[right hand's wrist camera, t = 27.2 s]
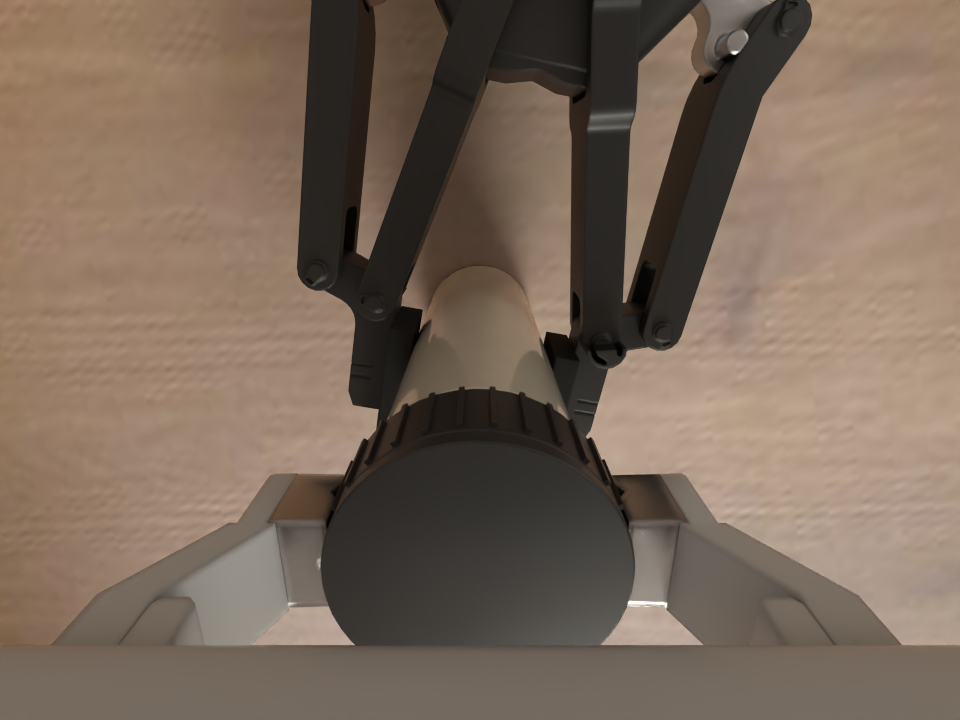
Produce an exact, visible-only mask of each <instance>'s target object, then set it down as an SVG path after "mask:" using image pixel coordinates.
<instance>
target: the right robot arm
mask: <svg viewBox="0 0 960 720" xmlns="http://www.w3.org/2000/svg"><path fill="white" fill-rule="evenodd" d="M344 476H345V475H339V474H297V473H291V474H273V475H270V476H269V477H268V479H267V480H266V482H265V483H264V485H263V486H262V488H261V489H260V490H259V492H258V493H257V495H256V496H255V498H254V499H253V501H252V502H251V504H250V505H249V506H248V508H247V509H246V511H245V512H244V514H243V515H242V517H241V518H240V519H239V521H238V522H237V523H228V524H227V525H225V526H223V527H221V528H219V529H217V530H215V531H214V532H212V533H210V534H208V535H206V536H204V537H202V538H201V539H199V540H197V541H195V542H193V543H191V544H190V545H188V546H186V547H184V548H182V549H180V550H178V551H177V552H175V553H173V554H171V555H169V556H167V557H165V558H164V559H162V560H160V561H158V562H156V563H154V564H153V565H151V566H149V567H147V568H145V569H143V570H141V571H140V572H138V573H136V574H134V575H132V576H130V577H129V578H127V579H125V580H123V581H121V582H119V583H117V584H116V585H114V586H112V587H110V588H108V589H106V590H104V591H103V592H101V593H99V594H97V595H96V596H95V597H94V598H93V599H92V600H91V602H90V603H89V604H88V605H87V606H86V607H85V608H84V609H83V610H82V612H81V613H80V614H79V615H78V616H77V617H76V618H75V619H74V620H73V621H72V623H71V624H70V625H69V626H68V627H67V628H66V629H65V630H64V631H63V633H62V634H61V635H60V636H59V637H58V638H57V639H56V640H55V641H54V643H53V644H52V645H0V720H960V645H902V644H901V643H900V642H899V641H898V640H897V639H896V638H895V636H894V635H893V634H892V633H891V632H890V631H889V630H888V629H887V627H886V626H885V625H884V624H883V623H882V622H881V621H880V620H879V618H878V617H877V616H876V615H875V614H874V613H873V612H872V610H871V609H870V608H869V607H868V606H867V605H866V604H865V603H864V601H863V600H862V599H861V598H860V597H859V596H858V595H856V594H855V593H853V592H851V591H849V590H847V589H845V588H844V587H842V586H840V585H838V584H836V583H835V582H833V581H831V580H829V579H827V578H825V577H824V576H822V575H820V574H818V573H816V572H814V571H813V570H811V569H809V568H807V567H805V566H803V565H802V564H800V563H798V562H796V561H794V560H792V559H791V558H789V557H787V556H785V555H783V554H782V553H780V552H778V551H776V550H774V549H772V548H771V547H769V546H767V545H765V544H763V543H761V542H760V541H758V540H756V539H754V538H752V537H750V536H749V535H747V534H745V533H743V532H741V531H740V530H738V529H736V528H734V527H732V526H730V525H729V524H727V523H718V522H717V521H716V519H715V518H714V516H713V515H712V513H711V512H710V510H709V509H708V508H707V506H706V505H705V503H704V502H703V500H702V499H701V497H700V496H699V494H698V493H697V492H696V490H695V489H694V487H693V486H692V484H691V483H690V481H689V480H688V478H687V477H686V476H685V475H684V474H682V473H673V474H647V475H611V476H612V478H613V480H614V483H615V485H616V488H617V490H618V492H619V495H620V497H621V499H622V502H623V504H624V506H625V509H623V510H621V512H622V514H623V517H624V519H625V522H626V524H627V527H628V530H629V533H630V536H631V539H632V543H633V549H634V555H635V576H634V582H633V588H632V593H631V596H630V599H629V602H628V605H627V606H637V607H667V610H668V611H669V612H670V613H671V614H672V615H673V616H674V617H675V618H676V619H677V620H678V621H679V622H680V623H681V624H682V625H683V626H684V627H686V628H687V629H688V630H689V631H690V632H691V633H692V634H693V635H694V636H695V637H696V638H697V639H698V640H699V641H700V642H701V643H702V644H703V645H252V644H253V643H254V642H255V641H256V640H257V639H258V638H259V637H260V636H261V635H263V634H264V633H265V632H266V631H267V630H268V629H269V628H270V627H271V626H272V625H273V624H274V623H275V622H276V621H277V620H279V619H280V618H281V617H282V616H283V615H284V614H285V613H286V612H287V611H288V610H289V608H288V607H317V606H329V605H328V603H327V601H326V597H325V593H324V590H323V586H322V579H321V568H320V563H321V550H322V546H323V541H324V537H325V533H326V531H327V528H328V526H329V524H330V521H331V519H332V517H333V514H334V511H331V510H330V508H331V505H332V503H333V501H334V499H335V496H336V494H337V492H338V489H339V487H340V485H341V483H342V480H343V478H344Z"/></svg>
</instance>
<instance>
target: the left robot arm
mask: <svg viewBox="0 0 960 720" xmlns="http://www.w3.org/2000/svg"><path fill="white" fill-rule="evenodd" d="M385 1H386V0H312V6H311V24H310V42H309V61H308V79H307V97H306V115H305V133H304V152H303V170H302V188H301V206H300V224H299V243H298V261H297V270H298V276H299V278H300V279H301V281H302V283H303V284H305V285H306V286H307V287H308V288H310V289H313V290H316V291H320V290H325V291H326V292H328V293H330V294H332V295H334V296H336V297H337V298H339V299H341V300H343V301H344V302H345V303H347V304H348V306H349V307H350V308H351V309H352V311H353V313H354V316H355V334H354V343H353V353H352V364H351V372H350V373H351V374H350V381H349V390H348V391H349V394H350V397H351V400H352V404H353V405H356V406H362V407H368V408H374V409H379V412H378V420H377V427H378V424H379V422H380V421H381V420H382V419H384V420H385V421H387V419H388V416H389V413H390V411H391V408H392V405H393V403H394V400H395V397H396V394H397V392H398V389H399V386H400V384H401V381H402V378H403V376H404V373H405V370H406V367H407V365H408V362H409V359H410V357H411V354H412V351H413V349H414V346H415V343H416V340H417V338H418V335H419V331H420V324H421V317H422V311H423V310H421V309H415V308H410V307H404V306H402V307H401V302H402V295H403V294H404V292H405V290H406V289H407V288H406V287H407V284H408V281H409V279H410V276H411V274H412V271H413V269H414V266H415V264H416V261H417V259H418V256H419V254H420V251H421V249H422V246H423V243H424V241H425V238H426V236H427V233H428V231H429V228H430V226H431V223H432V221H433V218H434V216H435V213H436V211H437V208H438V205H439V203H440V200H441V198H442V195H443V193H444V190H445V188H446V185H447V183H448V180H449V178H450V175H451V173H452V170H453V167H454V165H455V162H456V160H457V157H458V155H459V152H460V150H461V147H462V145H463V142H464V140H465V137H466V135H467V132H468V129H469V127H470V124H471V122H472V119H473V117H474V115H475V112H476V110H477V108H478V106H479V103H480V101H481V98H482V96H483V93H484V91H485V88H486V86H487V83H488V81H489V80H492V81H497V82H501V83H514V82H525V81H533V82H535V83H537V84H539V85H541V86H543V87H544V88H546V89H548V90H550V91H552V92H554V93H556V94H560V95H565V96H569V97H570V104H569V121H570V130H571V135H572V167H571V278H570V324H571V332H570V335H569V339H568V337H567V335H562V334H557V333H551V332H546V336H545V340H544V344H543V345H544V348H545V350H546V353H547V356H548V359H549V362H550V364H551V367H552V370H553V373H554V376H555V379H556V381H557V384H558V387H559V390H560V393H561V395H562V398H563V401H564V404H565V407H566V409H567V412H568V415H569V418H570V419H571V418H573V419H574V420H575V421H576V423H577V426H578V429H579V430H580V431H581V432H582V433H583V434H584V435H585V437H586V435H587V434H588V433H589V431H590V430H591V427H592V423H593V420H594V415H595V413H596V409H597V404H598V402H599V399H600V395H601V392H602V388H603V385H604V381H605V378H606V374H607V371H608V369H609V368H613V367H615V366H617V365H618V364H620V363H621V362H622V360H623V359H624V358H625V356H626V352H627V351H628V350H633V349H640V348H646V347H650V348H652V349H654V350H657V351H662V350H667V349H669V348H672V347H673V346H674V345H675V344H676V343H677V342H678V341H679V339H680V337H681V335H682V332H683V329H684V326H685V323H686V320H687V317H688V314H689V311H690V308H691V305H692V302H693V299H694V296H695V293H696V290H697V288H698V285H699V282H700V279H701V276H702V273H703V270H704V267H705V264H706V261H707V258H708V255H709V252H710V249H711V246H712V243H713V240H714V237H715V234H716V232H717V229H718V226H719V223H720V220H721V217H722V214H723V211H724V208H725V205H726V202H727V199H728V196H729V193H730V190H731V187H732V184H733V181H734V179H735V176H736V173H737V170H738V167H739V164H740V161H741V158H742V155H743V152H744V149H745V146H746V143H747V140H748V137H749V134H750V131H751V128H752V125H753V123H754V120H755V117H756V114H757V111H758V108H759V105H760V102H761V99H762V96H763V95H764V93H765V92H766V91H767V89H768V88H769V86H770V85H771V84H772V82H773V81H774V79H775V78H776V76H777V75H778V74H779V72H780V71H781V69H782V68H783V67H784V65H785V64H786V62H787V61H788V59H789V58H790V57H791V55H792V54H793V52H794V51H795V49H796V48H797V47H798V45H799V44H800V42H801V41H802V40H803V38H804V37H805V35H806V33H807V31H808V29H809V27H810V25H811V19H812V12H811V7H810V4H809V3H808V2H807V0H776V1H774V2H772V1H770V0H435V3H436V5H437V7H438V10H439V12H440V14H441V17H442V19H443V21H444V24H445V26H446V28H447V31H448V36H447V39H446V42H445V44H444V47H443V50H442V53H441V56H440V58H439V61H438V64H437V67H436V70H435V74H434V78H433V83H432V87H431V90H430V93H429V96H428V99H427V102H426V104H425V107H424V110H423V113H422V115H421V118H420V121H419V124H418V126H417V129H416V132H415V135H414V137H413V140H412V143H411V146H410V148H409V151H408V154H407V157H406V159H405V162H404V165H403V168H402V170H401V173H400V176H399V179H398V181H397V184H396V187H395V190H394V192H393V195H392V198H391V201H390V203H389V206H388V209H387V212H386V214H385V217H384V220H383V223H382V225H381V228H380V231H379V234H378V236H377V239H376V242H375V245H374V247H373V250H372V253H371V256H370V258H369V260H368V259H366V258H364V257H363V256H361V255H359V254H357V253H356V249H357V238H358V228H359V217H360V206H361V195H362V185H363V174H364V163H365V152H366V142H367V131H368V120H369V109H370V99H371V88H372V77H373V66H374V55H375V36H376V33H375V17H374V10H373V6H377V5H380V4H382V3H384V2H385ZM689 13H690V14H691V15H692V16H693V17H694V19H695V21H696V24H697V38H696V41H695V44H694V47H693V49H692V55H691V60H692V65H693V67H694V69H695V71H696V72H697V73H698V74H699V77H698V78H697V80H696V82H695V83H694V85H693V88H692V90H691V92H690V94H689V96H688V98H687V101H686V104H685V107H684V109H683V112H682V115H681V118H680V122H679V125H678V129H677V132H676V135H675V139H674V142H673V146H672V149H671V152H670V156H669V159H668V163H667V166H666V169H665V173H664V176H663V179H662V183H661V186H660V190H659V193H658V196H657V200H656V203H655V207H654V210H653V213H652V217H651V220H650V224H649V227H648V230H647V234H646V237H645V241H644V244H643V247H642V251H641V254H640V257H639V261H638V264H637V268H636V271H635V274H634V278H633V281H632V285H631V288H630V291H629V295H628V298H627V302H626V303H623V281H624V258H625V236H626V213H627V190H628V168H629V145H630V129H631V125H632V122H633V119H634V116H635V111H636V102H637V81H638V63H639V62H640V61H641V60H642V59H643V58H644V57H645V56H646V55H647V54H648V53H649V52H650V51H651V50H652V49H653V48H654V47H655V46H656V45H657V44H658V43H659V42H660V41H661V40H662V39H663V38H664V37H665V36H666V35H667V34H668V33H669V32H670V31H671V30H672V29H673V28H674V27H675V26H676V25H677V24H678V23H679V22H680V21H681V20H682V19H683V18H684V17H685V16H686V15H687V14H689ZM376 429H377V428H376Z"/></svg>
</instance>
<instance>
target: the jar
mask: <svg viewBox="0 0 960 720" xmlns="http://www.w3.org/2000/svg"><path fill="white" fill-rule="evenodd" d="M463 386H464V387H465V389H489V387H490V386H493V387H496V390H500V391H507V392H512V393H515V394H519V392H524V393H525V394H526V397H529V398H531V399H534V400H536V401H539V402H541V403H543V404H545V405H546V404H547V402H548V403H550V404H552V405H553V408H554V410H556V411H557V412H559V413H560V414H562V415H563V416H564V417H566V418H567V419H568V420H570V418H569V415H568V412H567V409H566V407H565V404H564V401H563V398H562V395H561V393H560V390H559V387H558V384H557V381H556V379H555V376H554V373H553V370H552V367H551V364H550V362H549V359H548V356H547V353H546V350H545V348H544V345H543V342H542V339H541V336H540V333H539V331H538V328H537V325H536V322H535V319H534V317H533V314H532V311H531V308H530V305H529V303H528V300H527V297H526V295H525V293H524V291H523V289H522V288H521V286H520V285H519V284H518V282H517V281H516V280H515V279H514V278H512V277H511V276H510V275H508V274H507V273H505V272H503V271H501V270H499V269H496V268H493V267H488V266H470V267H466V268H463V269H460V270H458V271H456V272H454V273H452V274H451V275H449V276H448V277H447V278H446V279H445V280H444V281H443V282H442V283H441V284H440V285H439V286H438V288H437V289H436V291H435V293H434V295H433V297H432V300H431V303H430V305H429V308H428V311H427V313H426V316H425V319H424V322H423V324H422V327H421V330H420V332H419V335H418V338H417V340H416V343H415V346H414V349H413V351H412V354H411V357H410V359H409V362H408V365H407V367H406V370H405V373H404V376H403V378H402V381H401V384H400V386H399V389H398V392H397V394H396V397H395V400H394V403H393V405H392V408H391V411H390V413H389V416H388V419H389V418H390V417H392V416H393V415H395V414H396V413H398V412H399V411H400V410H401V408H402V405H404V404H406V403H407V404H408V405H411V404H413V403H415V402H417V401H419V400H422V399H425V398H428V397H429V393H432V392H435V394H440V393H445V392H450V391H454V390H459V387H463ZM388 419H387V420H388Z"/></svg>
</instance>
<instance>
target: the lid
mask: <svg viewBox="0 0 960 720" xmlns="http://www.w3.org/2000/svg"><path fill="white" fill-rule="evenodd" d="M623 509H625V506H624V504H623V502H622V499H621V497H620V495H619V492H618V490H617V488H616V485H615V483H614V480H613V478H612V476H611V473H610V471H609V469H608V466H607V464H606V462H605V460H604V459H603V460H602V459H601V457H600V455H599V452H598V450H597V447H596V445H595V443H594V441H593V439H592V438H591V437H590V438H589V439H587V438H586V437H585V435H584V434H583V433H582V432H581V431H580V430H579V429H578V426H577V423H576V421H575V420H574V419H573V418H571V419H570V420H568V419H567V418H566V417H564V416H563V415H562V414H560V413H559V412H557V411H556V410H554V408H553V405H552V404H550V403H548V402H547V404H546V405H545V404H543V403H541V402H539V401H536V400H534V399H531V398H529V397H526V394H525V393H524V392H519V394H515V393H512V392H507V391H500V390H496V387H493V386H490V387H489V389H465V387H464V386H463V387H459V390H454V391H450V392H445V393H440V394H435V392H432V393H429V397H428V398H425V399H422V400H419V401H417V402H415V403H413V404H411V405H408V404H407V403H406V404H404V405H402V408H401V410H400V411H399V412H398V413H396V414H395V415H393V416H392V417H390V418H389V419H388V420H387V421H385V420H384V419H382V420H381V421H380V422H379V424H378V427H377V429H376V431H375V432H374V433H373V435H372V436H371V437H370V438H369V439H368V440H366V439H365V438H364V439H363V441H362V442H361V444H360V447H359V449H358V451H357V454H356V456H355V458H354V461H351V462H350V464H349V467H348V469H347V471H346V474H345V476H344V478H343V480H342V483H341V485H340V487H339V489H338V492H337V494H336V496H335V499H334V501H333V503H332V505H331V508H330V510H331V511H334V514H333V517H332V519H331V521H330V524H329V526H328V528H327V531H326V533H325V537H324V541H323V546H322V550H321V563H320V568H321V579H322V586H323V590H324V593H325V597H326V601H327V603H328V605H329V608H330V610H331V612H332V615H333V616H334V618H335V620H336V621H337V623H338V624H339V626H340V628H341V629H342V630H343V632H344V633H345V634H346V635H347V637H348V638H349V639H350V640H351V641H352V642H353V643H354V644H355V645H601V644H602V643H603V642H604V641H605V640H606V639H607V638H608V637H609V635H610V634H611V633H612V631H613V630H614V628H615V627H616V626H617V624H618V623H619V621H620V619H621V617H622V615H623V613H624V611H625V610H626V608H627V605H628V602H629V599H630V596H631V593H632V588H633V582H634V576H635V555H634V549H633V543H632V539H631V536H630V533H629V530H628V527H627V524H626V522H625V519H624V517H623V514H622V512H621V510H623Z"/></svg>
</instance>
